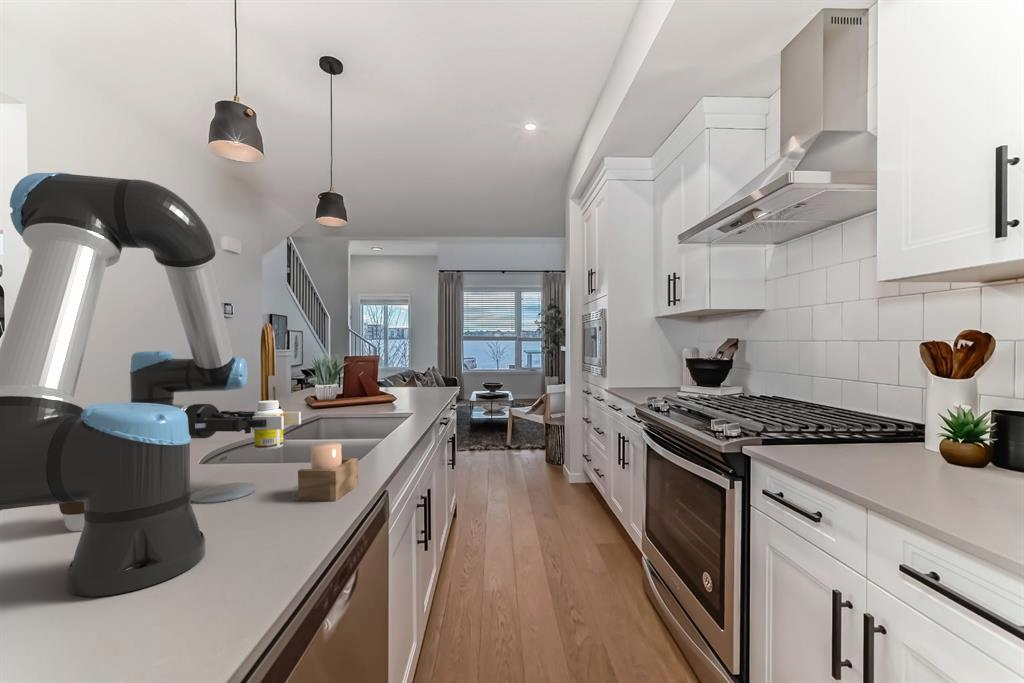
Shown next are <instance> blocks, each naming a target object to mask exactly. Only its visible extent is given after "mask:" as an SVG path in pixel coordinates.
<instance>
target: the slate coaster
mask: <svg viewBox="0 0 1024 683" xmlns="http://www.w3.org/2000/svg"><path fill="white" fill-rule="evenodd" d="M256 489H257V490H258V485H257V484H255V483H252V482H231V483H223V484H218V485H213V486H210V487H206V488H203V489H200V490H197V491H195V492H193V493H191V494H190V500H191V501H192V502H191V501H190V502H191V503H193V502H195V503H194V504H199V503H210V504H216V503H215V502H220V503H224V502H223V501H226V502H229V501H228V500H231V501H233V500H232V499H235V500H237V499H236V498H239V499H241V498H240V497H242V498H244V496H245V497H247V496H246V495H248V496H249V494H250V495H251V493H252V494H253V492H254V491H255V490H256ZM257 490H256V491H257ZM256 491H255V492H256ZM255 492H254V493H255Z"/></svg>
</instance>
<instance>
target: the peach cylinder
mask: <svg viewBox="0 0 1024 683" xmlns="http://www.w3.org/2000/svg"><path fill="white" fill-rule="evenodd" d="M342 458H343V456H342V443H340V442H337V441H336V442H335V441H334V442H333V441H332V442H331V441H330V442H329V441H328V442H320V443H317V444H313V445H311V446H310V467H311V468H310V469H334V468H336V467H338V466H340V465H341V464H342Z"/></svg>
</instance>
